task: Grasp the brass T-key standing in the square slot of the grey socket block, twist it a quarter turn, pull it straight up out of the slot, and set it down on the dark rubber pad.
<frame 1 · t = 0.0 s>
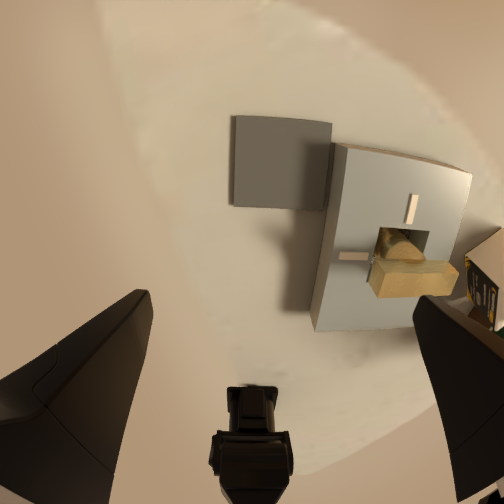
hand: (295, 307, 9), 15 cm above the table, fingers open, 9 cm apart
beer bottle: (482, 311, 29), on the table
t key: (401, 260, 21), in the grey socket block
grey socket block: (384, 240, 24), on the table
medicine bottle: (484, 261, 25), on the table
pad: (281, 163, 21), on the table
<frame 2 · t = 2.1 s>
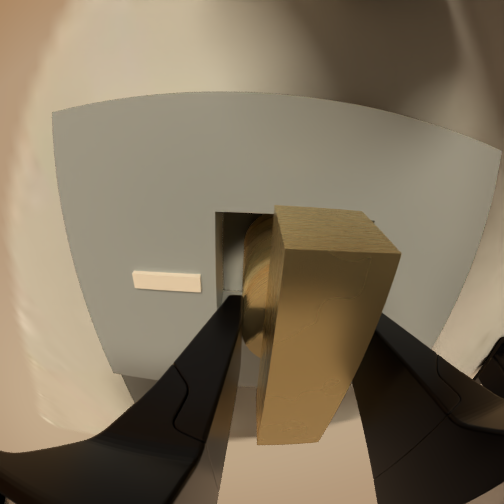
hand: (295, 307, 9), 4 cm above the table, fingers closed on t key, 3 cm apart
t key: (292, 295, 9), in the grey socket block, touching gripper
grey socket block: (281, 244, 12), on the table
pad: (172, 379, 17), on the table
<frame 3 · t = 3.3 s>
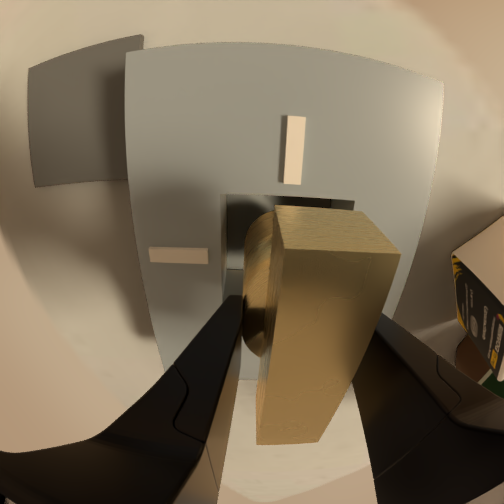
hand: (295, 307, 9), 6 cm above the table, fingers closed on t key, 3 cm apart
beer bottle: (481, 336, 19), on the table
t key: (292, 295, 9), point 6 cm above the table, touching gripper
grey socket block: (277, 227, 14), on the table
medicine bottle: (486, 264, 15), on the table
pad: (79, 114, 11), on the table
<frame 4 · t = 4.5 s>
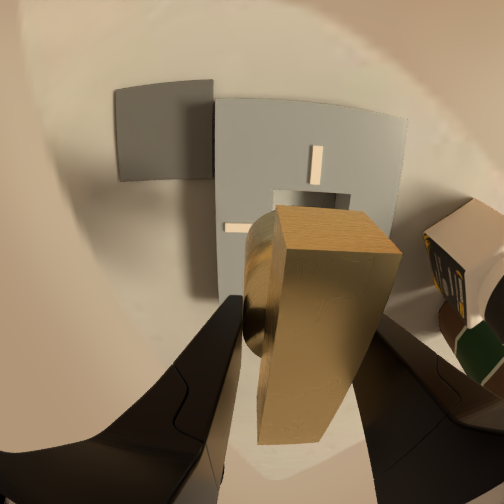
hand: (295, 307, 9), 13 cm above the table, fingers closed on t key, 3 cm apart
beer bottle: (460, 305, 26), on the table
t key: (293, 295, 9), point 12 cm above the table, touching gripper
grey socket block: (301, 212, 21), on the table
medicine bottle: (454, 242, 22), on the table
pad: (163, 130, 18), on the table
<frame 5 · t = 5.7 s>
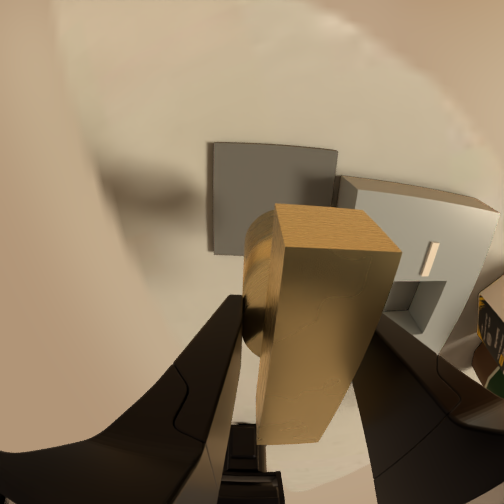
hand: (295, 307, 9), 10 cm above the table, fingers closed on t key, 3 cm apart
beer bottle: (490, 344, 26), on the table
t key: (292, 294, 9), point 9 cm above the table, touching gripper
grey socket block: (393, 286, 20), on the table
medicine bottle: (498, 297, 22), on the table
pad: (272, 202, 17), on the table
when the fingers open (5 cm above the table, at t = 6.7 s): t key stays where it is, resting on pad.
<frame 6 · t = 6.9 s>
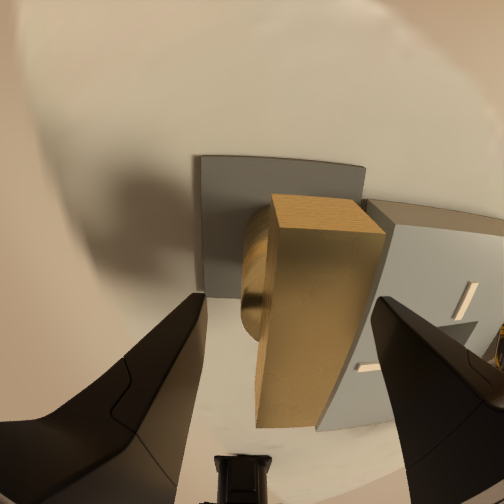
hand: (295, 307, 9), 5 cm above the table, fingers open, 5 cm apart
t key: (289, 282, 10), on the pad
grey socket block: (416, 324, 16), on the table
pad: (279, 233, 13), on the table
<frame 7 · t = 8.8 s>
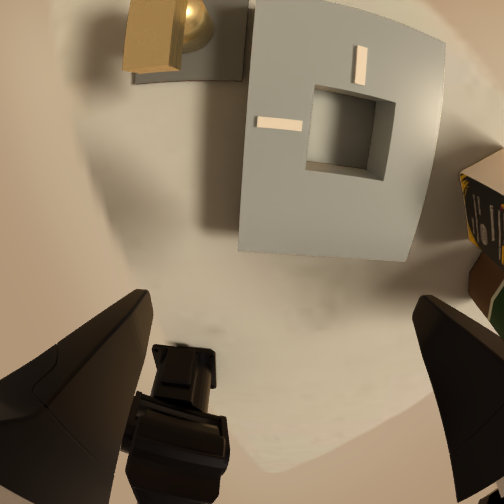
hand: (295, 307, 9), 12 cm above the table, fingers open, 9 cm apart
beer bottle: (489, 268, 23), on the table
t key: (175, 16, 10), on the pad
grey socket block: (338, 129, 17), on the table
medicine bottle: (487, 192, 19), on the table
pad: (191, 32, 14), on the table
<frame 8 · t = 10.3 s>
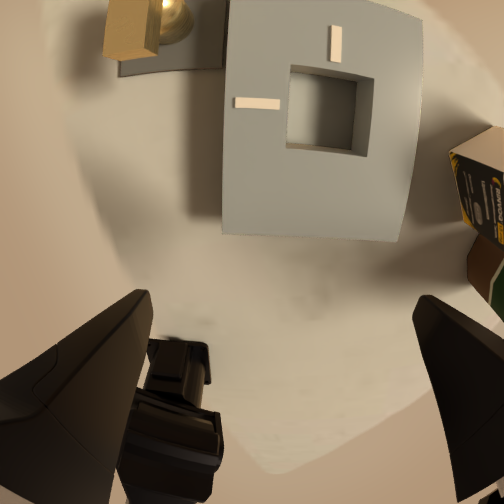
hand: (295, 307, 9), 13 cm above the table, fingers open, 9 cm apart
beer bottle: (487, 253, 22), on the table
t key: (154, 8, 10), on the pad
grey socket block: (319, 110, 17), on the table
medicine bottle: (479, 172, 18), on the table
pad: (172, 25, 14), on the table
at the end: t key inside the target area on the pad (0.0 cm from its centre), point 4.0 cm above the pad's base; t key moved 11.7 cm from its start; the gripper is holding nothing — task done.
